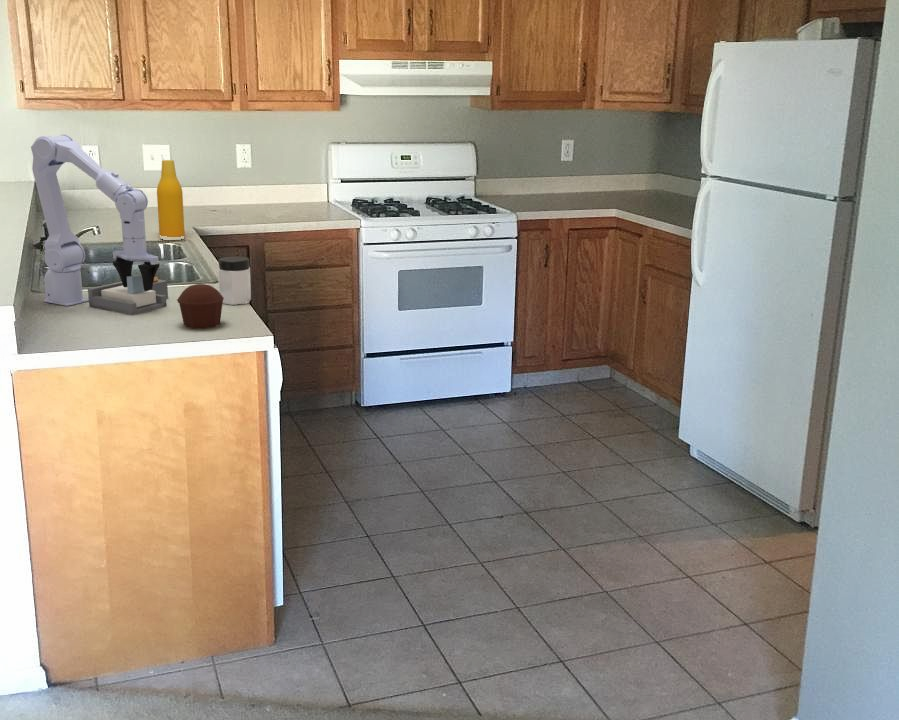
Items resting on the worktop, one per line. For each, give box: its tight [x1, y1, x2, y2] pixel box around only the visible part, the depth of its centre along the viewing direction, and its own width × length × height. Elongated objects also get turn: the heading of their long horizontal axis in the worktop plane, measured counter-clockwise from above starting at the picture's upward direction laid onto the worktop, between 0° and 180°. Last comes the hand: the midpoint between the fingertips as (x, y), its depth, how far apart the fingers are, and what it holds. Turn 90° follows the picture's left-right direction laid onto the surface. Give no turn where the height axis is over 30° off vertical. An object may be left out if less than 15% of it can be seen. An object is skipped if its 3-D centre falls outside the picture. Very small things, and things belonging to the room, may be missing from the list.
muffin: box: [176, 283, 224, 330], centre depth 243 cm, size 12×11×10 cm
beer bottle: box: [156, 159, 186, 237], centre depth 361 cm, size 9×9×29 cm
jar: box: [218, 255, 252, 306], centre depth 267 cm, size 9×8×12 cm
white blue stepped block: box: [101, 273, 156, 307], centre depth 259 cm, size 12×8×8 cm, turn 61°
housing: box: [87, 279, 169, 316], centre depth 263 cm, size 16×19×5 cm
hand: (137, 288), depth 257 cm, fingers open, 7 cm apart
